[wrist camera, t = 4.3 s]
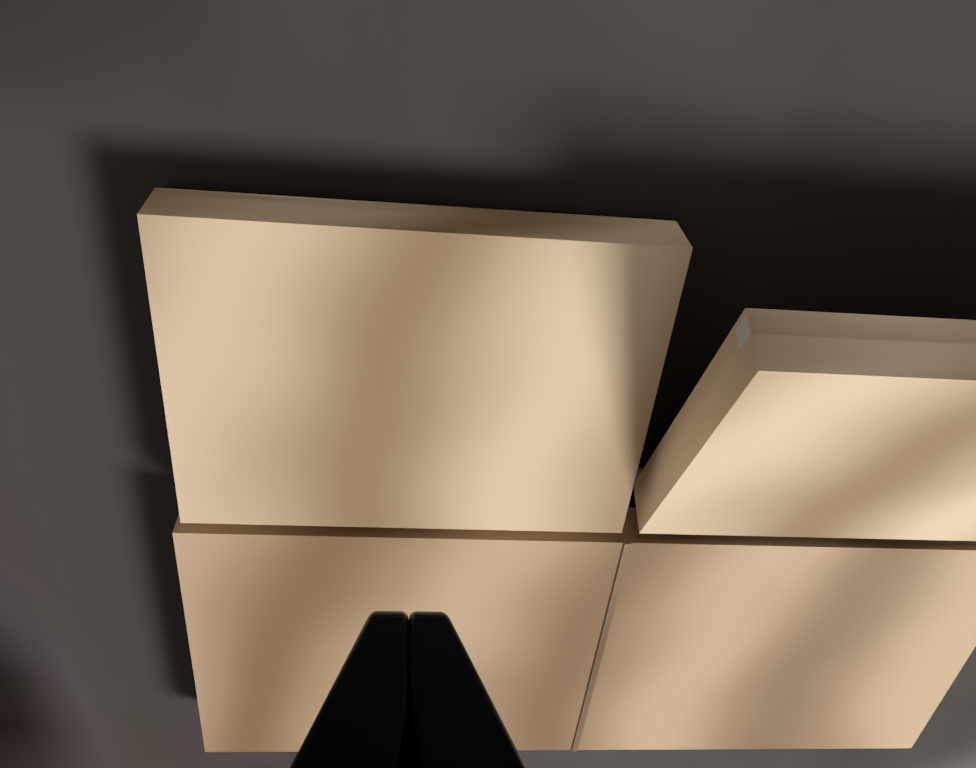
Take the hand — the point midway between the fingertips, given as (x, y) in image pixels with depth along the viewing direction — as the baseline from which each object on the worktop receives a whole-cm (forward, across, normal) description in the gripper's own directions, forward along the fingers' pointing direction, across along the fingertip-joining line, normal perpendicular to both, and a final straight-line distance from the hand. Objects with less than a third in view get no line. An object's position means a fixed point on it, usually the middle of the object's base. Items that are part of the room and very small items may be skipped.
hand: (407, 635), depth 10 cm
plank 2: (+7, -10, +2) cm, 13 cm away
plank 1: (+9, 0, +2) cm, 9 cm away
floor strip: (+9, -5, +10) cm, 14 cm away
